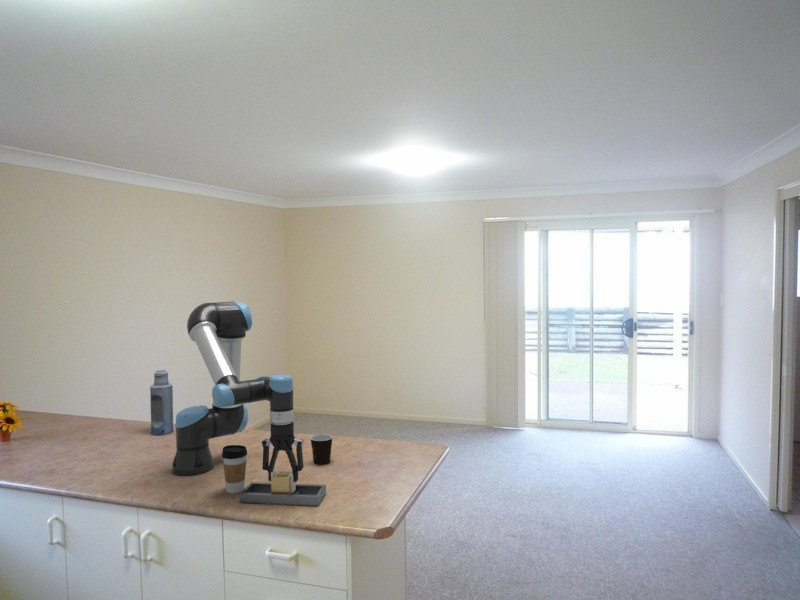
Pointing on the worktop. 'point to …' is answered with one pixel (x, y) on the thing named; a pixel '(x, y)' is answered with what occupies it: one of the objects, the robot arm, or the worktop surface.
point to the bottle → (161, 404)
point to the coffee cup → (234, 467)
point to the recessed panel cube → (281, 482)
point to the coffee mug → (321, 448)
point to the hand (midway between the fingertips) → (283, 490)
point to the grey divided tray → (283, 495)
